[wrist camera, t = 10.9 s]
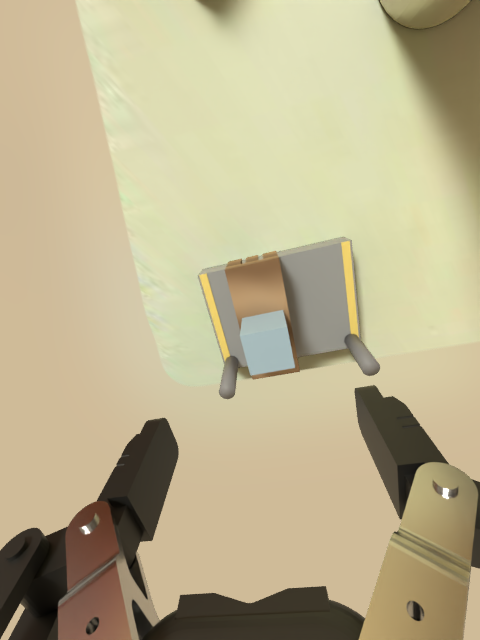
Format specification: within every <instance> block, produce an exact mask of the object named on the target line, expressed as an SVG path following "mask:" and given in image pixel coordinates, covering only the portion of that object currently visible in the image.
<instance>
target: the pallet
mask: <svg viewBox="0 0 480 640" xmlns="http://www.w3.org/2000/svg"><path fill="white" fill-rule="evenodd" d="M225 274H226V278H227V282H228V286H229V290H230V293H231V297H232V301H233V305H234V309H235V313H236V317H237V320H238V324H239V328H240V331H241V323H242V318H245V317H250V316H255V315H260V314H265V313H270V312H275V311H279V310H283V312H284V316H285V320H286V324H287V328H288V334H289V339H290V344H291V349H292V354H293V359H294V364H295V368H291V369H286V370H280V371H274V372H268V373H263V374H257V375H252V378H253V379H258V378H264V377H270V376H276V375H282V374H288V373H294V372H300V369H299V364H298V359H297V353H296V348H295V342H294V337H293V332H292V326H291V321H290V315H289V310H288V304H287V299H286V294H285V288H284V283H283V277H282V272H281V267H280V261H279V257H278V254H277V252H276V251H273V252H269V253H265V254H263V259H261V260H259V259H258V255H256V256H252V257H247V258H246V262H245V263H243V262H242V259H239V260H234V261H230V262H228V264H227V266H226V268H225Z"/></svg>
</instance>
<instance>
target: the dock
mask: <svg viewBox="0 0 480 640" xmlns="http://www.w3.org/2000/svg"><path fill="white" fill-rule="evenodd" d="M277 254H278V257H279V261H280V267H281V272H282V277H283V283H284V288H285V294H286V299H287V304H288V310H289V315H290V321H291V326H292V332H293V337H294V342H295V348H296V353H297V357H302V356H307V355H313V354H319V353H324V352H330V351H336V350H341V349H347V348H348V349H349V351H350V352H351V354H352V355H353V357H354V359H355V360H356V362H357V363H358V365H359V366H360V368H361V370H362V371H363V373H364V374H365V375H368V376H371V375H375V374H377V373H378V372H379V370H380V365H379V363H378V362H377V361H376V360H375V358H374V357H373V356H372V354H371V353H370V352H369V350H368V349H367V348H366V346H365V345H364V344H363V342H362V341H361V338H360V327H359V317H358V306H357V295H356V284H355V273H354V262H353V251H352V241H351V240H350V239H347V238H345V237H340V238H336V239H332V240H327V241H323V242H319V243H314V244H310V245H306V246H301V247H297V248H293V249H288V250H284V251H280V252H277ZM258 259H259V260H261V259H263V256H258ZM242 262H243V263H245V262H246V259H245V260H242ZM226 266H227V264H224V265H220V266H215V267H211V268H207V269H203V270H202V271H201V272H200V273H199V274H198V278H199V282H200V285H201V288H202V292H203V295H204V298H205V302H206V305H207V308H208V312H209V315H210V318H211V322H212V325H213V328H214V332H215V335H216V338H217V342H218V345H219V348H220V352H221V355H222V358H223V362H224V370H223V375H222V380H221V385H220V390H219V394H220V396H221V397H223V398H225V399H230V398H232V397H233V396H234V395H235V388H236V380H237V371H238V368H240V367H246V366H248V365H247V361H246V357H245V353H244V350H243V346H242V342H241V339H240V328H239V324H238V320H237V317H236V313H235V309H234V305H233V301H232V297H231V293H230V290H229V286H228V282H227V278H226V274H225V268H226Z"/></svg>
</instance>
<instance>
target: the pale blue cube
mask: <svg viewBox="0 0 480 640" xmlns="http://www.w3.org/2000/svg"><path fill="white" fill-rule="evenodd" d="M240 339H241V342H242V346H243V350H244V353H245V357H246V361H247V365H248V368H249V372H250V376H251V375H257V374H263V373H268V372H274V371H280V370H286V369H291V368H295V364H294V359H293V354H292V349H291V344H290V339H289V334H288V328H287V324H286V320H285V316H284V312H283V310H279V311H275V312H270V313H265V314H260V315H255V316H250V317H245V318H242V323H241V331H240Z"/></svg>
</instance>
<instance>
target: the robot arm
mask: <svg viewBox="0 0 480 640" xmlns="http://www.w3.org/2000/svg"><path fill="white" fill-rule="evenodd" d="M470 1H471V0H380V2H381V4H382V5H383V7H384V9H385V10H386V12H387V13H388V14H389V15H390V16H391V17H392V18H393V19H394V20H395V21H396V22H398V23H400V24H401V25H403V26H405V27H410V28H415V29H422V28H430V27H433V26H436V25H439V24H442V23H443V22H445V21H447V20H449V19H450V18H452V17H454V16H455V15H456V14H457V13H458V12H459V11H460V10H462V9H463V8H464V7H465V6H466V5H467V4H468V3H469V2H470ZM355 399H356V408H357V417H358V423H359V427H360V430H361V433H362V436H363V438H364V440H365V442H366V444H367V447H368V449H369V451H370V453H371V456H372V458H373V460H374V462H375V465H376V467H377V469H378V471H379V474H380V475H381V478H382V480H383V482H384V485H385V487H386V489H387V491H388V493H389V496H390V498H391V500H392V503H393V505H394V507H395V509H396V511H397V514H398V516H399V518H400V519H402V520H401V524H400V527H399V530H398V532H394V533H393V535H392V536H391V539H390V541H389V544H388V548H387V551H386V554H385V557H384V561H383V564H382V567H381V570H380V573H379V576H378V579H377V583H376V586H375V589H374V592H373V596H372V599H371V602H370V605H369V608H368V611H367V615H366V618H364V617H362V616H361V615H360V614H358V613H357V612H355V611H354V610H352V609H350V608H349V607H347V606H345V605H342V604H340V603H338V602H335V601H331V600H329V598H328V594H327V590H326V586H322V587H307V588H306V587H305V588H289V589H286V590H283V591H281V592H278V593H276V594H273V595H271V596H269V597H266V598H264V599H262V600H259V601H256V602H254V603H245V602H241V601H238V600H235V599H232V598H228V597H225V596H222V595H219V594H216V593H208V594H207V593H206V594H190V595H180V599H179V604H178V609H177V610H176V611H174V612H172V613H171V614H169V615H167V616H166V617H164V618H163V619H162V620H159V618H158V616H157V613H156V611H155V608H154V605H153V602H152V599H151V596H150V592H149V589H148V585H147V581H146V578H145V574H144V571H143V567H142V564H141V560H140V557H139V554H138V552H137V549H138V546H139V543H140V542H142V541H152V540H153V536H154V533H155V530H156V527H157V524H158V520H159V517H160V514H161V511H162V508H163V504H164V501H165V498H166V495H167V492H168V488H169V485H170V482H171V479H172V476H173V472H174V469H175V466H176V463H177V459H178V445H177V442H176V440H175V437H174V435H173V433H172V430H171V428H170V426H169V423H168V421H167V419H165V418H160V419H154V420H148V421H147V422H146V423H145V425H144V427H143V429H142V431H141V433H140V434H137V435H136V436H135V437H134V438H133V439H132V440H131V441H130V442H129V443H128V444H127V446H126V448H125V449H124V451H123V453H122V456H121V458H120V459H119V461H118V463H117V466H116V467H115V468H114V470H113V472H112V474H111V475H110V478H109V479H108V481H107V483H106V485H105V486H104V489H103V490H102V493H101V494H100V496H99V498H98V500H97V501H96V502H93V503H91V504H89V505H87V506H86V507H84V508H83V509H82V510H81V511H79V512H78V513H77V514H76V515H75V517H74V518H73V519H72V521H71V522H70V524H69V526H68V527H66V528H64V529H61V530H59V531H57V532H54V533H52V534H50V535H47V536H44V534H43V533H42V532H41V530H40V529H38V528H31V529H27V530H25V531H23V532H21V533H20V534H18V535H16V537H14V538H13V539H11V541H9V542H8V543H7V544H6V545H5V546H4V547H3V548H2V549H1V551H0V639H1V636H2V635H3V633H4V631H5V629H6V628H7V626H8V624H9V622H10V620H11V618H12V617H13V615H14V613H15V611H16V610H17V608H18V606H19V604H20V603H21V604H22V605H23V606H24V607H25V610H24V611H23V613H22V615H21V617H20V619H19V621H18V623H17V625H16V626H15V628H14V630H13V632H12V634H11V636H10V638H9V639H8V640H463V638H464V628H465V619H466V609H467V600H468V590H469V582H470V572H471V566H472V567H476V568H480V482H478V481H475V480H472V479H471V478H470V477H469V476H468V475H467V474H465V473H464V472H463V471H461V470H459V469H458V468H456V467H454V466H451V465H449V463H448V462H447V461H446V460H445V458H444V457H443V456H442V454H441V453H440V451H439V450H438V449H437V447H436V446H435V445H434V443H433V442H432V440H431V439H430V438H429V436H428V435H427V434H426V432H425V431H424V429H423V428H422V427H421V426H420V424H419V423H418V421H417V420H416V418H415V417H413V414H412V413H411V412H410V410H409V409H408V407H407V406H406V405H405V404H404V403H402V402H401V401H399V400H398V399H396V398H395V397H393V396H392V397H386V398H383V396H382V395H381V393H380V392H379V390H378V389H377V387H376V386H374V385H373V386H367V387H360V388H355Z"/></svg>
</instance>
